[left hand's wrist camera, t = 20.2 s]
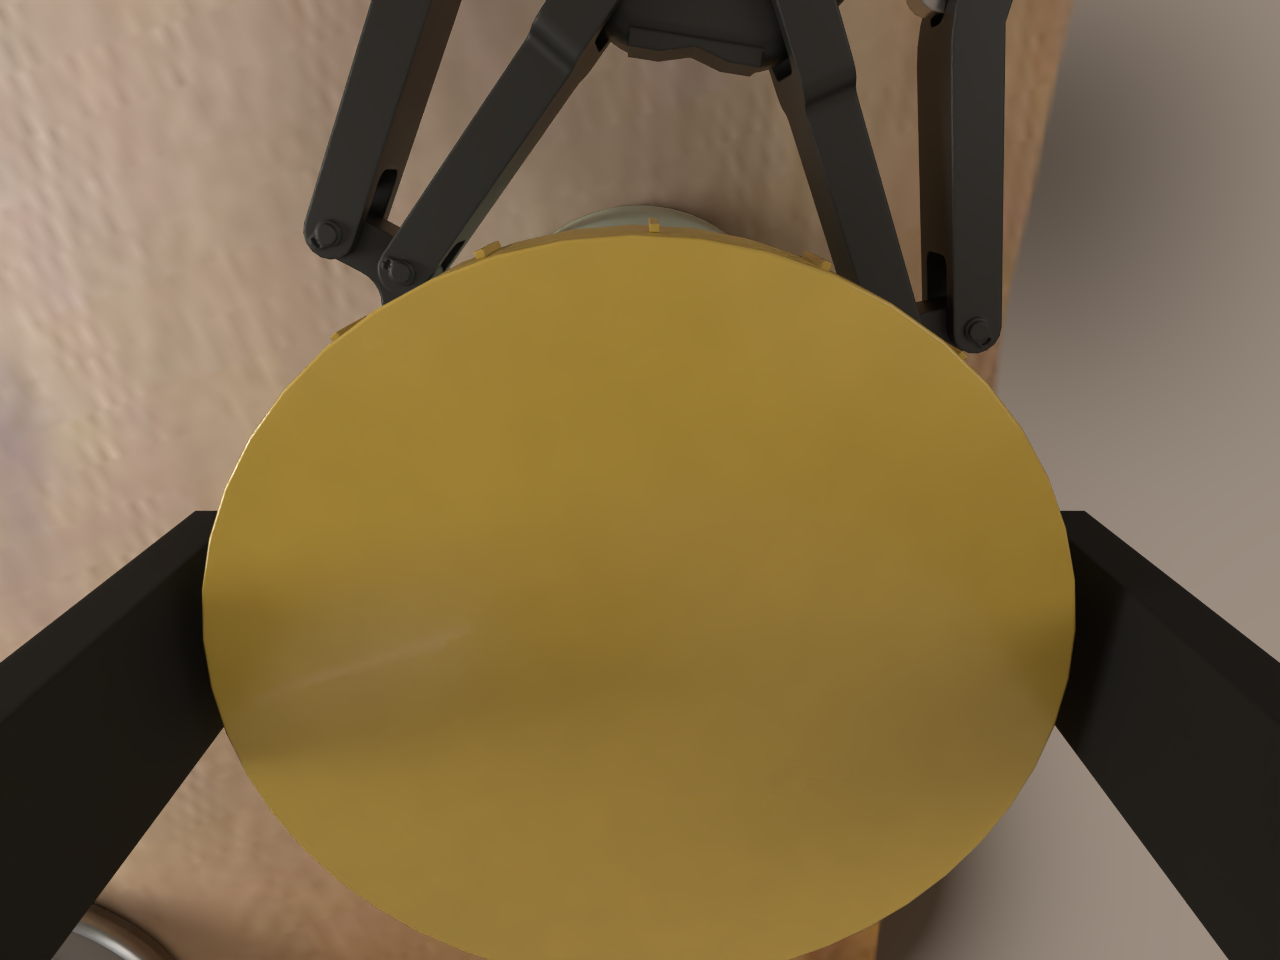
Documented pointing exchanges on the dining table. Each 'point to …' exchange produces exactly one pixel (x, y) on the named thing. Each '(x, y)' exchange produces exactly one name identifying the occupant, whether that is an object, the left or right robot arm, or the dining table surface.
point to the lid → (638, 603)
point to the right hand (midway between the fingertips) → (619, 543)
